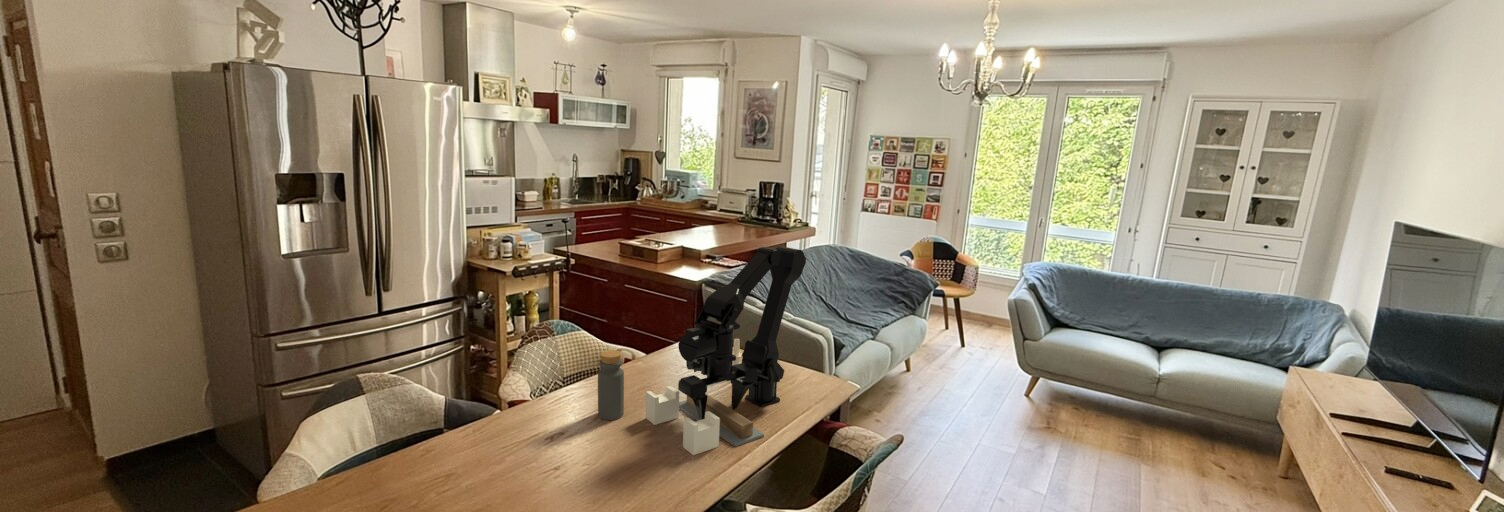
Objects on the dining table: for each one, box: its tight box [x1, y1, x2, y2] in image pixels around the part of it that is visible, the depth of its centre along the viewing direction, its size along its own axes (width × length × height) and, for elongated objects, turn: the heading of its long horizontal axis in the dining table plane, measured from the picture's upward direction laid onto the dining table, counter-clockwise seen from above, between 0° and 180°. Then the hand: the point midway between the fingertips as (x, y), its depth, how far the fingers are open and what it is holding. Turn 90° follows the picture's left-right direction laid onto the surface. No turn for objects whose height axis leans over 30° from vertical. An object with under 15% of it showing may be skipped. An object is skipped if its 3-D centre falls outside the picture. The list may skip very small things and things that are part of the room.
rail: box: [686, 392, 754, 439], centre depth 140 cm, size 3×22×3 cm, turn 39°
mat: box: [679, 399, 765, 448], centre depth 140 cm, size 8×24×1 cm, turn 39°
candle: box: [732, 338, 743, 366], centre depth 168 cm, size 5×5×10 cm
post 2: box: [682, 411, 720, 456], centre depth 127 cm, size 6×4×6 cm, turn 129°
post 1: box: [645, 385, 680, 426], centre depth 139 cm, size 6×4×6 cm, turn 129°
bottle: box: [597, 349, 625, 421], centre depth 139 cm, size 6×6×15 cm
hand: (717, 414), depth 140 cm, fingers open, 9 cm apart
